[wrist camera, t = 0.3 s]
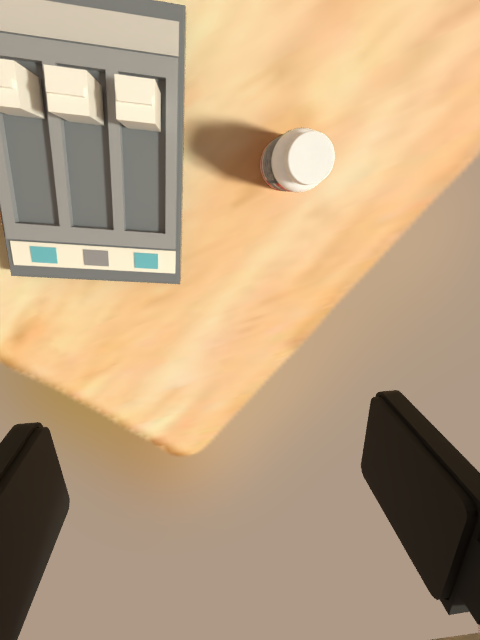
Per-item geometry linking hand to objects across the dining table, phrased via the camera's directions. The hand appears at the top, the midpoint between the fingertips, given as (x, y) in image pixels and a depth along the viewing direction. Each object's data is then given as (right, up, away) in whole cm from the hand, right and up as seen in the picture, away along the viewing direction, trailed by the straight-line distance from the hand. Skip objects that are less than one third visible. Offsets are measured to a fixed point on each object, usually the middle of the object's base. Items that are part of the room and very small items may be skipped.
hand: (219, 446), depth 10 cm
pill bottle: (+5, +20, +26) cm, 33 cm away
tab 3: (-8, +23, +20) cm, 31 cm away
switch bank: (-14, +20, +23) cm, 33 cm away
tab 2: (-13, +23, +20) cm, 33 cm away
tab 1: (-18, +23, +19) cm, 35 cm away
